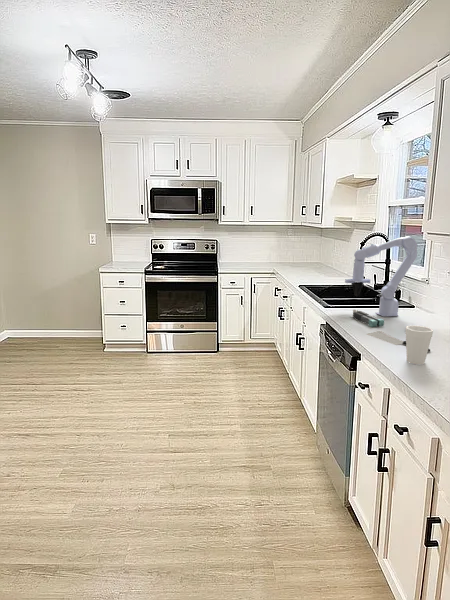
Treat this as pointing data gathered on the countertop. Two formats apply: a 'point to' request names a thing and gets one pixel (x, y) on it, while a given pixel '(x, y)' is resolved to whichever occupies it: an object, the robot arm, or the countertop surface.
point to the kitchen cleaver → (388, 338)
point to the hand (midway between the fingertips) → (356, 295)
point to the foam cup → (417, 343)
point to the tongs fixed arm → (365, 319)
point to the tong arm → (379, 321)
